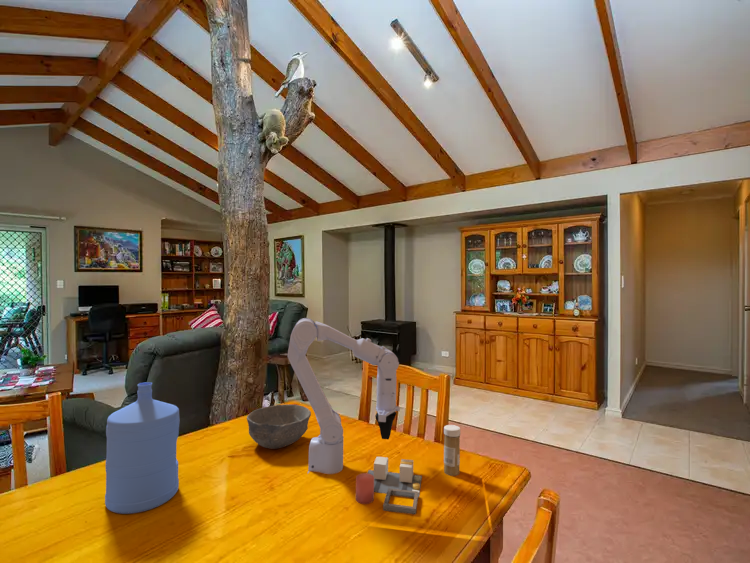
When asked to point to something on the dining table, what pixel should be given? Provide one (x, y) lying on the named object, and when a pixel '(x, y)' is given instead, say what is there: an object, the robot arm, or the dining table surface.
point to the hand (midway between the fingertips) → (385, 438)
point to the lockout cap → (364, 488)
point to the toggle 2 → (406, 470)
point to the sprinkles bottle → (451, 450)
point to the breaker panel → (396, 483)
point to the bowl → (278, 425)
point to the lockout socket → (400, 507)
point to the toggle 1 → (380, 468)
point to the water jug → (141, 454)
